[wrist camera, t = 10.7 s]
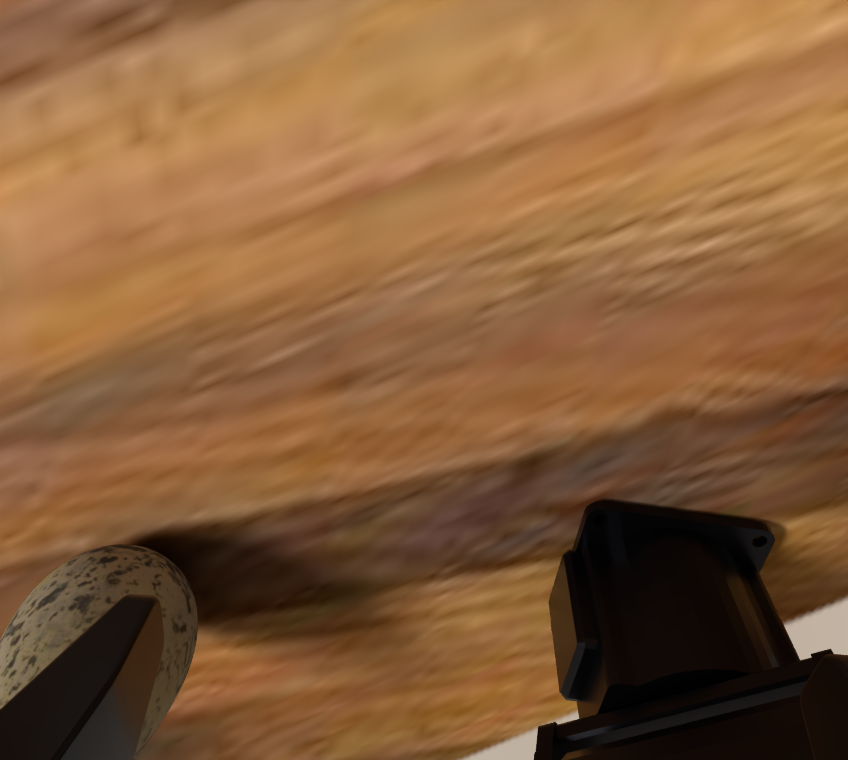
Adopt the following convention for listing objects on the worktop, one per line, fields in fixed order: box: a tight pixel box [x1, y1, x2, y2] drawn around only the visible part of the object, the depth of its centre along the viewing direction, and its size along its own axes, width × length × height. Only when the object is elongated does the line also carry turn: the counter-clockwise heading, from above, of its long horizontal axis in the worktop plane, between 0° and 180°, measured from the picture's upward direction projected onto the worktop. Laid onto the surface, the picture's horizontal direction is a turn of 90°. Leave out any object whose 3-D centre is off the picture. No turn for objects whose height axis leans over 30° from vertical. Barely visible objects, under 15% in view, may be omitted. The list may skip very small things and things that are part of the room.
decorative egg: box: [0, 545, 198, 758], centre depth 23 cm, size 6×6×10 cm
